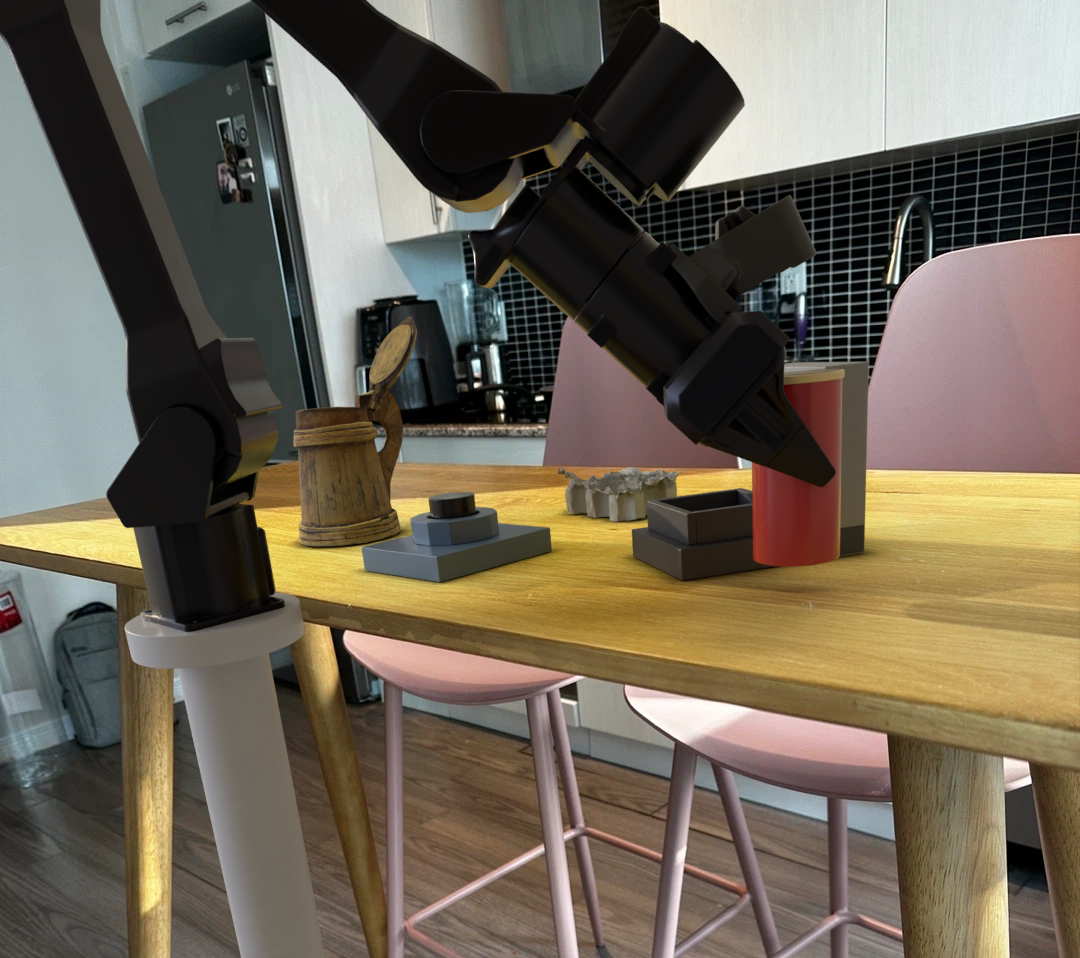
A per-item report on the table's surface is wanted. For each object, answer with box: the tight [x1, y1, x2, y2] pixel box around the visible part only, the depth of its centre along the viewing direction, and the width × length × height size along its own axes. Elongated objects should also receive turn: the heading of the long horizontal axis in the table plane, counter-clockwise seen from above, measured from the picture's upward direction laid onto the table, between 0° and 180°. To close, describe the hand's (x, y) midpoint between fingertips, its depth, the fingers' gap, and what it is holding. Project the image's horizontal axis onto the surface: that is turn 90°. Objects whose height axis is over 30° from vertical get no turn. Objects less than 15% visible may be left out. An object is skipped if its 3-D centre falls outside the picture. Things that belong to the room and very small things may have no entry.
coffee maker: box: [631, 361, 870, 581], centre depth 68 cm, size 13×9×12 cm
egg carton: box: [557, 466, 683, 522], centre depth 91 cm, size 11×8×4 cm
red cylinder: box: [751, 369, 845, 567], centre depth 57 cm, size 5×5×10 cm
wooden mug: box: [293, 315, 418, 548], centre depth 90 cm, size 9×14×18 cm, turn 124°
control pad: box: [361, 506, 553, 583], centre depth 77 cm, size 11×9×4 cm
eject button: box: [428, 491, 477, 520], centre depth 76 cm, size 3×3×2 cm
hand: (821, 474), depth 57 cm, fingers closed on red cylinder, 5 cm apart
